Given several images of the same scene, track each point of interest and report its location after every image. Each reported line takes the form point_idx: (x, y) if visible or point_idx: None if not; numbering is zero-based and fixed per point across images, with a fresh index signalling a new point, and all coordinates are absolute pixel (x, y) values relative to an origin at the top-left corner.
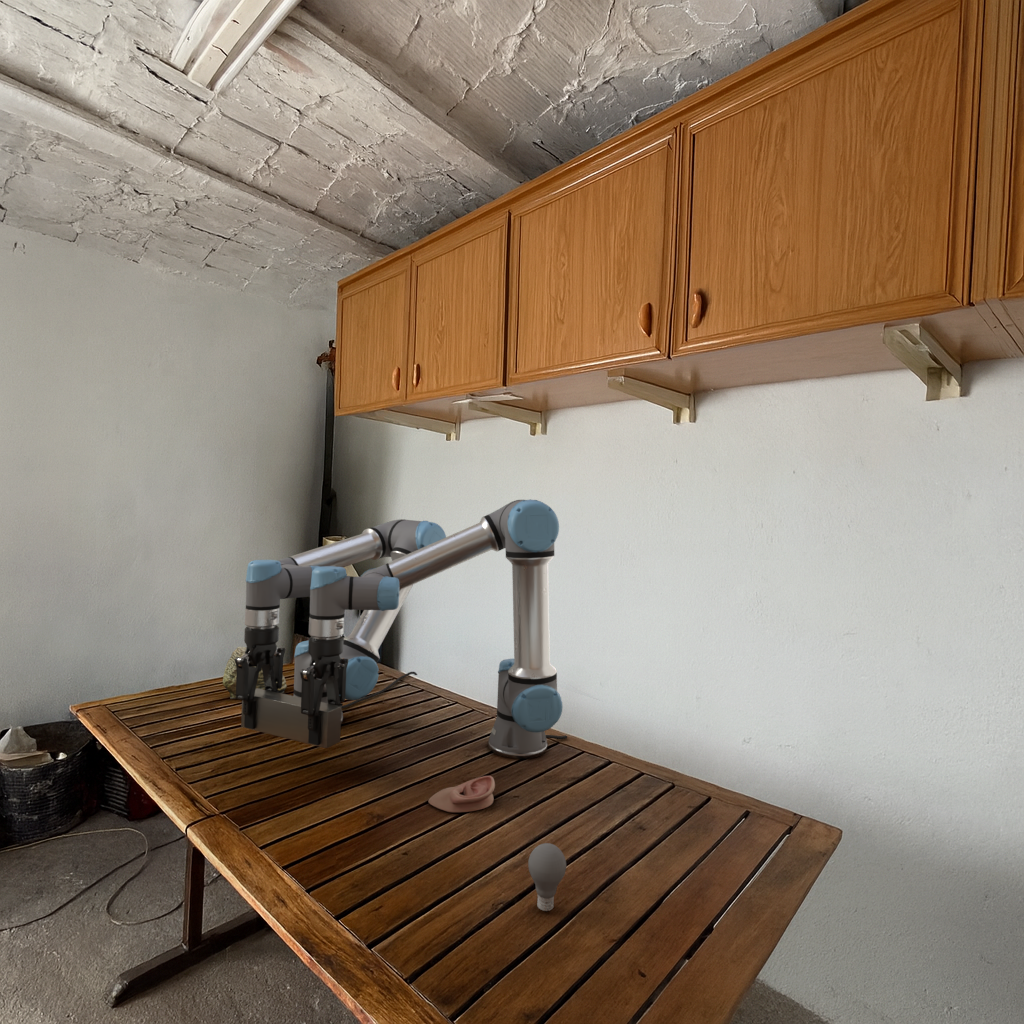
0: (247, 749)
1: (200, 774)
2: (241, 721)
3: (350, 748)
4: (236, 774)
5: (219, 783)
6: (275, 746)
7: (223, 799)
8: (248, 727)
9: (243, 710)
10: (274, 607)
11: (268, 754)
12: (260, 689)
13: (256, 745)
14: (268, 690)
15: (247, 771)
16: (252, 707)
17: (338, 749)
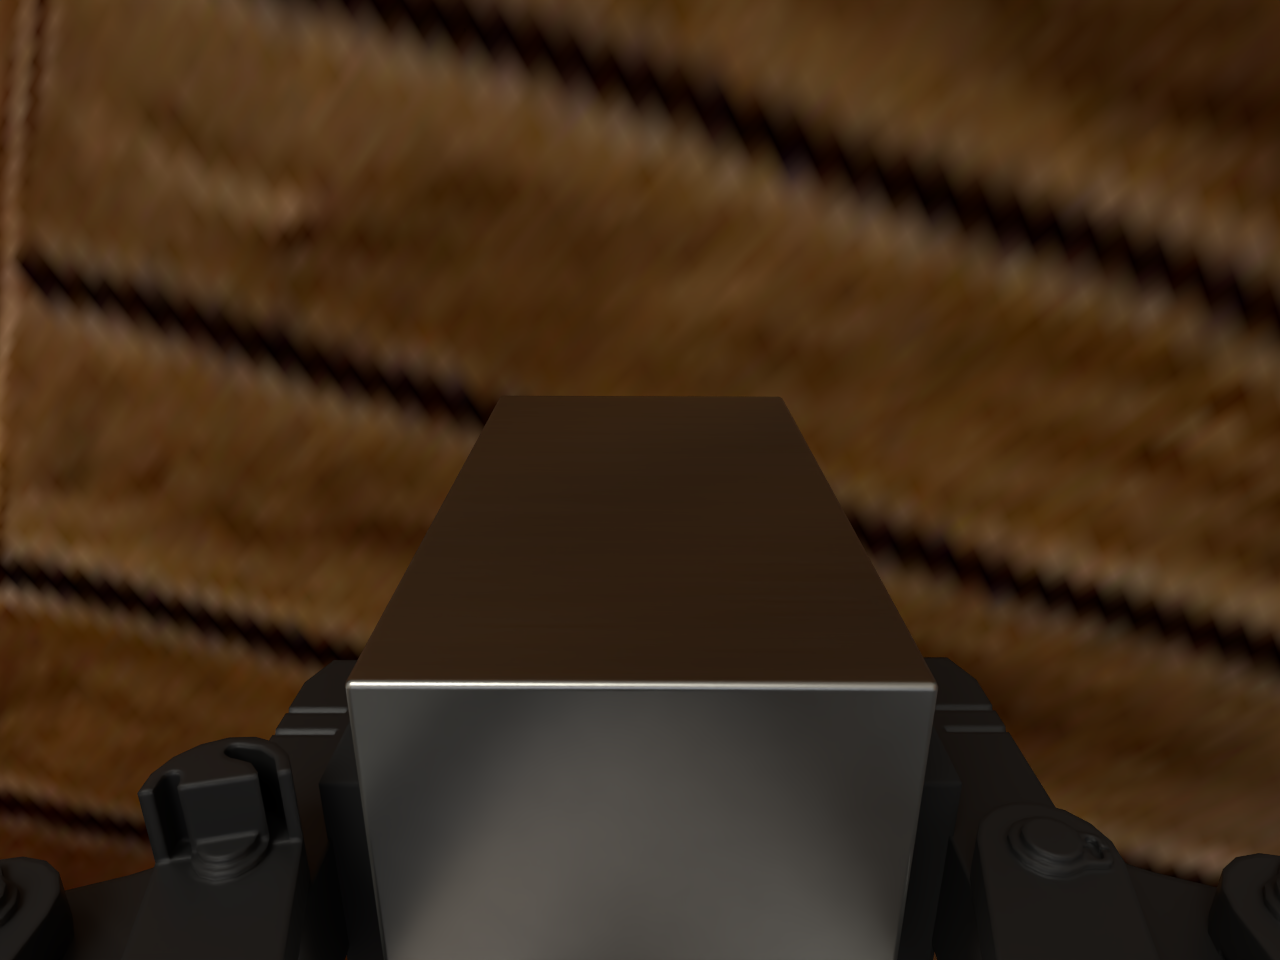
0: (817, 119)
1: (181, 203)
2: (488, 424)
3: (1172, 831)
4: (370, 466)
5: (189, 479)
6: (993, 309)
7: (69, 683)
8: None
9: (294, 711)
10: None
11: (808, 391)
12: (870, 835)
13: (942, 117)
14: (964, 938)
15: None
16: None
17: (1124, 777)
